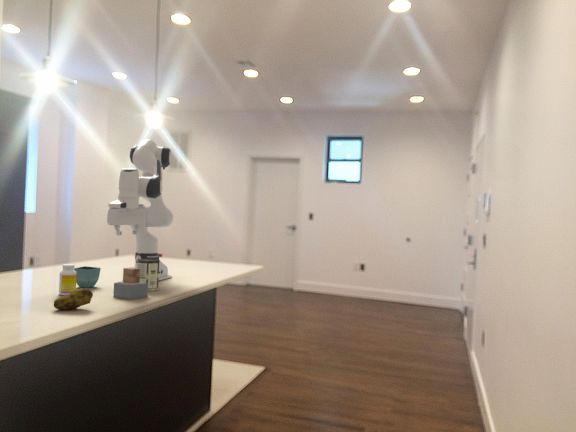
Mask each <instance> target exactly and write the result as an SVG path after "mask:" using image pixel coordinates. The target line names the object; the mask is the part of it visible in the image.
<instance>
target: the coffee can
mask: <svg viewBox="0 0 576 432" xmlns="http://www.w3.org/2000/svg"><path fill="white" fill-rule="evenodd" d="M137 261H138V264H137V268H140V282H145V283H148V292H149V291H150V292H152V291H157V290H159V280H158V279H159V262H160V261H161V259H159V260H158V259H138V260H137Z"/></svg>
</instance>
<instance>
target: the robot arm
mask: <svg viewBox="0 0 576 432" xmlns="http://www.w3.org/2000/svg"><path fill="white" fill-rule="evenodd" d="M129 159H130V162H131V164H132V165H134V166H135V167H136V168H135V167H123V168H121V170H120V171H119V173H120V174H119V180H118V190H119V191H118V195H117V197H118V198H117V199H116V200H113V201H111V202H108V205H107V206H108V210H107V215H106V217H107V218H106V223H107V224H108V225H109V226H113V227H114V230H115V232H116V233H115V234H116V236H119V237H120V236H122V231H121V230H120V228H121V226H129V227H130V228H131V229H132V235H134V236H135V239H136V240H135V242H136V249H135V251H136V252H135V254H134V259H135V262H134V266H133V268H137V264H138V261H137V260H138V259H158V260H160V258H163V256H164V254H163V253H160V252H159V253H158V246H159V241H158V237H157V236H156V235H155V234H153V233H151V232H149V230H148V228H167V227H169V226H171V224H172V223H173V221H174V214H173V212H172V211H171V210H170V208H169V207H167V205H166V204H165V203H164V199H163V196H162V195H163V193H162V192H163V170H166V168H167V167H169V166H171V163H172V160H173V153H172V150H171V149H170V148H169V147H166V146H158V145H157V143H156V142H155V141H153V139H149V138H144V139H142V140H141V141H140V142H139V143H138V144H137V145H134V146H133V147H131V148H130V151H129ZM140 171H141V172H142V173H141V174H142V175H140ZM140 198H142V199H143V200H145V201H147V202H149V203H150V206H145V205H144V204H141V203H139V202H140V201H139V200H140ZM168 270H169V269H168V266H167V265H166V264H165V263H164V262H162V260H160V262H159V279H158V281H163V280H166V279H170V278H173V275H171V274H169V271H168Z"/></svg>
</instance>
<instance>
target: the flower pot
mask: <svg viewBox="0 0 576 432" xmlns="http://www.w3.org/2000/svg"><path fill="white" fill-rule="evenodd" d="M101 269H102V268H101V267H98V266H96V267H95V266H80V267H74V270H75V271H76V273H77V275H76V286H78V287H79V288H86V289H88V288H91V287H94V286H95V285H96V284H97V283H98V281H99V278H100V273H101Z"/></svg>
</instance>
